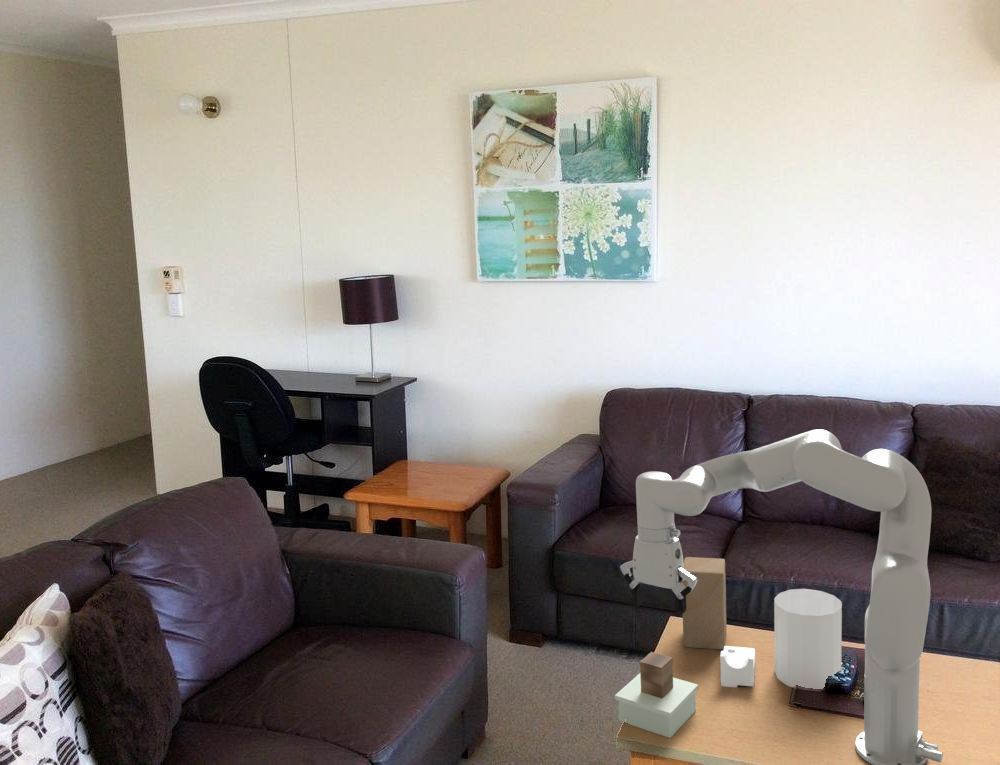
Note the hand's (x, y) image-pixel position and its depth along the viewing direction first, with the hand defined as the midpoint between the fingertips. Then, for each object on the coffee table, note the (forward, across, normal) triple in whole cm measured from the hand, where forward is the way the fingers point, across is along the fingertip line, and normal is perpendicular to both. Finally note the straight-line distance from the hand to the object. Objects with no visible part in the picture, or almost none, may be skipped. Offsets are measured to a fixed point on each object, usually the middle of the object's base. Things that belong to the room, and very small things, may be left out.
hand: (659, 609), depth 182 cm
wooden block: (+24, +7, -36) cm, 44 cm away
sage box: (+24, +1, +1) cm, 24 cm away
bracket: (+25, -7, -25) cm, 36 cm away
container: (+25, -20, -32) cm, 45 cm away
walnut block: (+18, +1, +1) cm, 18 cm away
